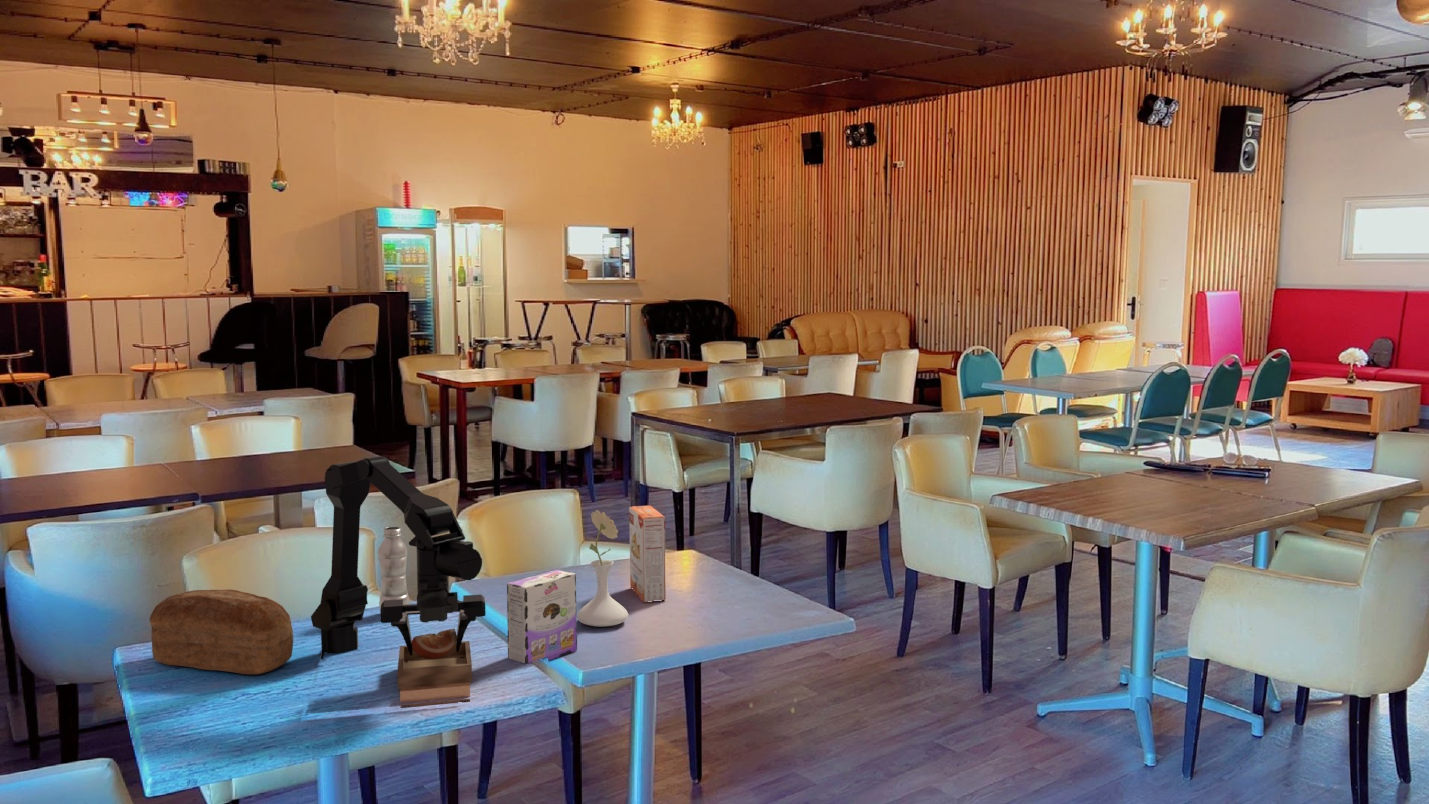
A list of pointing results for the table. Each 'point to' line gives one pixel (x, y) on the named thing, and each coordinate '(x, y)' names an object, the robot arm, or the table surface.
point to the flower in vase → (602, 583)
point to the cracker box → (647, 553)
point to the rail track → (434, 694)
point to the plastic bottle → (393, 566)
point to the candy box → (542, 616)
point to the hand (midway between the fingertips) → (434, 653)
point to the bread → (221, 631)
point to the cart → (434, 668)
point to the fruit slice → (434, 644)
